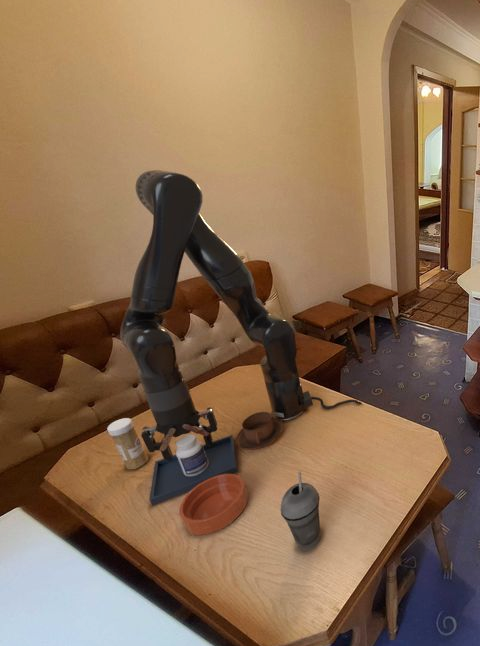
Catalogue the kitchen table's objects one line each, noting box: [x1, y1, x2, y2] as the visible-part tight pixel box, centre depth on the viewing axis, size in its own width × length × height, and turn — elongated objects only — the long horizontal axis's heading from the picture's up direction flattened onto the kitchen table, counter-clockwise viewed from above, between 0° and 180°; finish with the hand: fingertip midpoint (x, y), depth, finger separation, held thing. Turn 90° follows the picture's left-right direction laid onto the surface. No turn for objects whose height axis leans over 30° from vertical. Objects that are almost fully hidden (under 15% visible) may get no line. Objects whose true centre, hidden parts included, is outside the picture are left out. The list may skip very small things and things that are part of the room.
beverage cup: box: [280, 471, 321, 552], centre depth 73 cm, size 7×7×20 cm
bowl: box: [178, 473, 249, 536], centre depth 82 cm, size 12×12×4 cm
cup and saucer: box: [235, 411, 284, 450], centre depth 102 cm, size 12×12×6 cm
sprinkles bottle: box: [106, 417, 149, 470], centre depth 91 cm, size 5×5×14 cm
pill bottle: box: [175, 433, 209, 476], centre depth 90 cm, size 5×5×10 cm
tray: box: [149, 434, 239, 507], centre depth 92 cm, size 17×13×2 cm
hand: (190, 451), depth 90 cm, fingers open, 7 cm apart
